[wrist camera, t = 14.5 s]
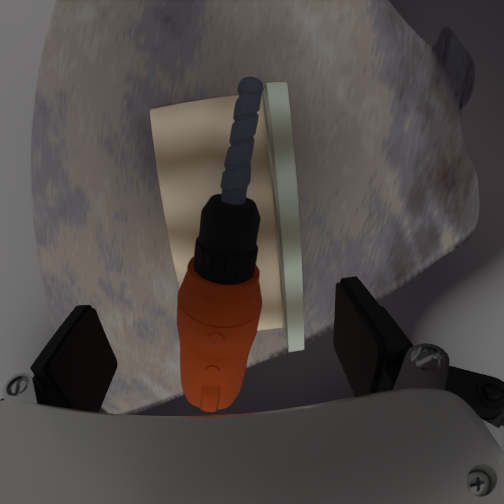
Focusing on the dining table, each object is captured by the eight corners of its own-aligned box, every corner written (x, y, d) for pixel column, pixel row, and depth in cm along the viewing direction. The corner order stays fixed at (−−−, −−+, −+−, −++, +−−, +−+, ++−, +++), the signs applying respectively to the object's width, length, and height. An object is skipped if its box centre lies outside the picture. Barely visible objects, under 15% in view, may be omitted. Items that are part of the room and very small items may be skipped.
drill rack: (155, 112, 23) (134, 103, 18) (278, 95, 23) (289, 81, 18) (193, 325, 31) (186, 361, 25) (295, 314, 31) (306, 349, 25)
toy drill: (279, 99, 20) (339, 83, 7) (243, 301, 29) (245, 440, 16) (216, 90, 20) (169, 58, 7) (194, 295, 28) (167, 432, 15)
